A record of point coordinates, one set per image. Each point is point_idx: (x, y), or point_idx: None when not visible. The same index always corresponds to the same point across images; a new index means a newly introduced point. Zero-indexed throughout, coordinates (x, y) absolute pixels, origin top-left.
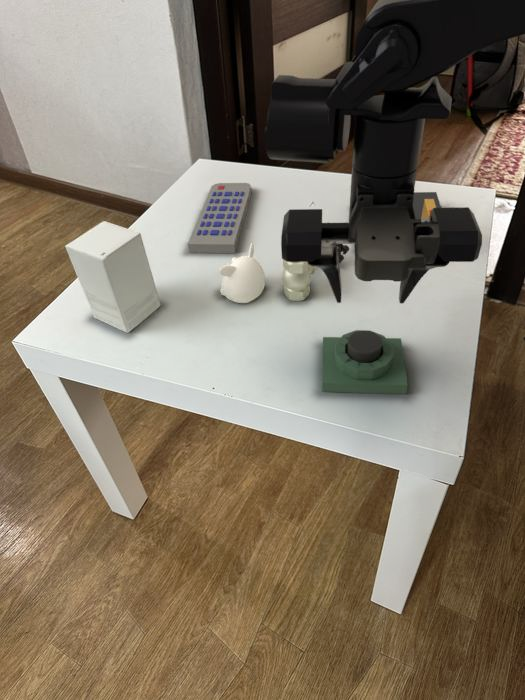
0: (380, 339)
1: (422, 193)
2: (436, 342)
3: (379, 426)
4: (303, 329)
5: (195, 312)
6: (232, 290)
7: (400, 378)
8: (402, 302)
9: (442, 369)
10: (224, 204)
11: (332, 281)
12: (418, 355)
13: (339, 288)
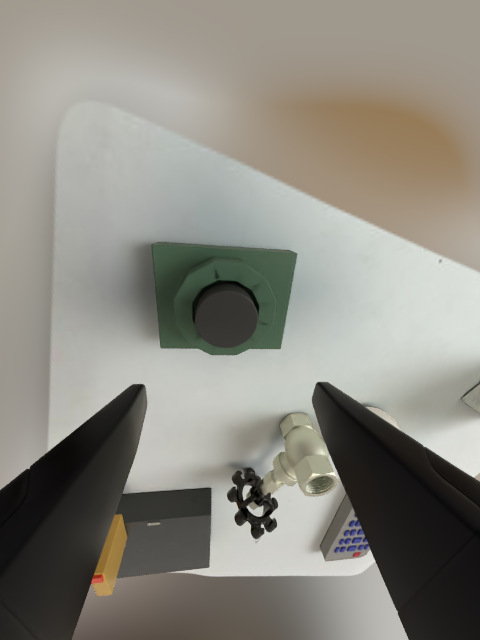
0: (197, 326)
1: (124, 575)
2: (107, 348)
3: (206, 167)
4: (296, 367)
5: (423, 390)
6: (392, 423)
7: (164, 260)
8: (134, 386)
9: (96, 295)
10: (358, 536)
11: (423, 455)
12: (135, 323)
13: (364, 424)
